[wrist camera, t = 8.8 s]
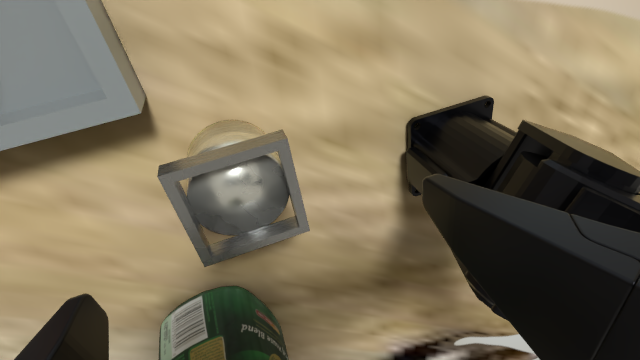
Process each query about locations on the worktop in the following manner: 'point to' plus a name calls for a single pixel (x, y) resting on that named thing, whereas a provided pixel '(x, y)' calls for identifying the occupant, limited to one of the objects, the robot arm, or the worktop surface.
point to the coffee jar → (222, 328)
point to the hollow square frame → (235, 189)
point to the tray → (61, 70)
